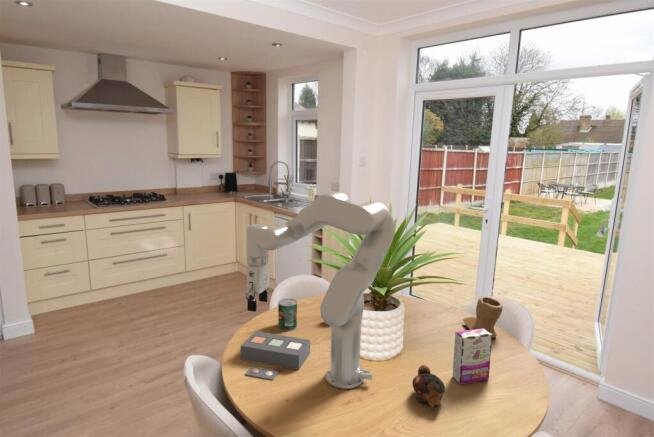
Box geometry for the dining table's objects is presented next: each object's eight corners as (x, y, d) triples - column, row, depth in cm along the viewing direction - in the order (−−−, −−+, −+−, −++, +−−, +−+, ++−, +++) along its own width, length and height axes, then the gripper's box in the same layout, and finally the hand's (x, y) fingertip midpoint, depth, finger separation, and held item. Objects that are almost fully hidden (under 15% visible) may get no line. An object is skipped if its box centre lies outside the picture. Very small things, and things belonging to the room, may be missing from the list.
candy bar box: (479, 372, 140) (483, 327, 137) (489, 380, 135) (493, 334, 132) (450, 376, 137) (454, 331, 134) (459, 384, 132) (463, 337, 129)
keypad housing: (310, 353, 150) (310, 339, 149) (298, 370, 139) (299, 355, 138) (255, 344, 156) (255, 331, 155) (240, 359, 145) (240, 345, 144)
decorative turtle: (432, 383, 133) (435, 361, 131) (452, 416, 118) (456, 392, 116) (403, 383, 131) (406, 361, 129) (420, 417, 117) (424, 393, 115)
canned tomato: (274, 326, 172) (274, 301, 170) (289, 321, 177) (289, 297, 175) (285, 332, 166) (285, 307, 164) (300, 327, 171) (301, 302, 169)
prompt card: (278, 372, 137) (278, 370, 137) (272, 380, 132) (272, 378, 132) (251, 367, 140) (251, 365, 140) (244, 375, 135) (244, 373, 135)
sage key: (284, 346, 148) (284, 340, 148) (279, 352, 144) (279, 346, 144) (272, 345, 150) (272, 339, 149) (267, 350, 145) (267, 344, 145)
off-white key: (302, 349, 146) (302, 343, 146) (297, 355, 142) (297, 349, 142) (290, 348, 148) (290, 341, 147) (286, 353, 143) (286, 347, 143)
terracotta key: (266, 344, 150) (266, 338, 150) (261, 349, 146) (261, 343, 146) (255, 342, 151) (255, 336, 151) (250, 347, 147) (250, 341, 147)
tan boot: (504, 340, 163) (508, 305, 161) (475, 340, 163) (478, 305, 160) (488, 324, 178) (492, 291, 175) (462, 323, 178) (464, 291, 175)
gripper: (256, 267, 134) (256, 317, 137) (277, 254, 150) (276, 298, 153) (235, 265, 136) (236, 314, 139) (258, 252, 152) (258, 296, 155)
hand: (257, 305), depth 146 cm, fingers open, 8 cm apart
